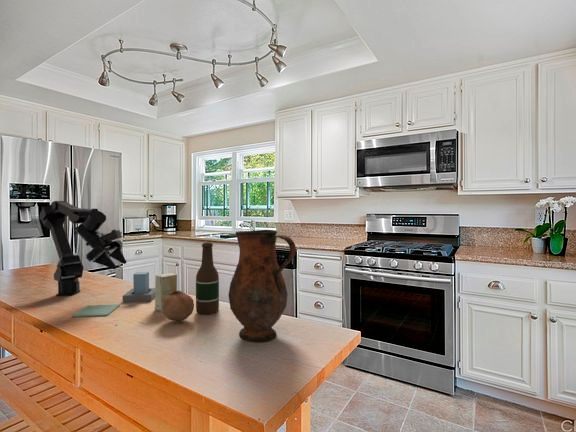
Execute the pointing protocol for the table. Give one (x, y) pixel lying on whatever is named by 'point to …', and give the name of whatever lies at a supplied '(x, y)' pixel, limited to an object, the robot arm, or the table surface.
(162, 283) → the skincare box
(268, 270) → the pitcher
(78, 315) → the green mat
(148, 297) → the square socket block
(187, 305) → the onion
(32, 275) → the table surface
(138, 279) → the tall square blue prism
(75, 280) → the robot arm
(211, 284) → the beer bottle
